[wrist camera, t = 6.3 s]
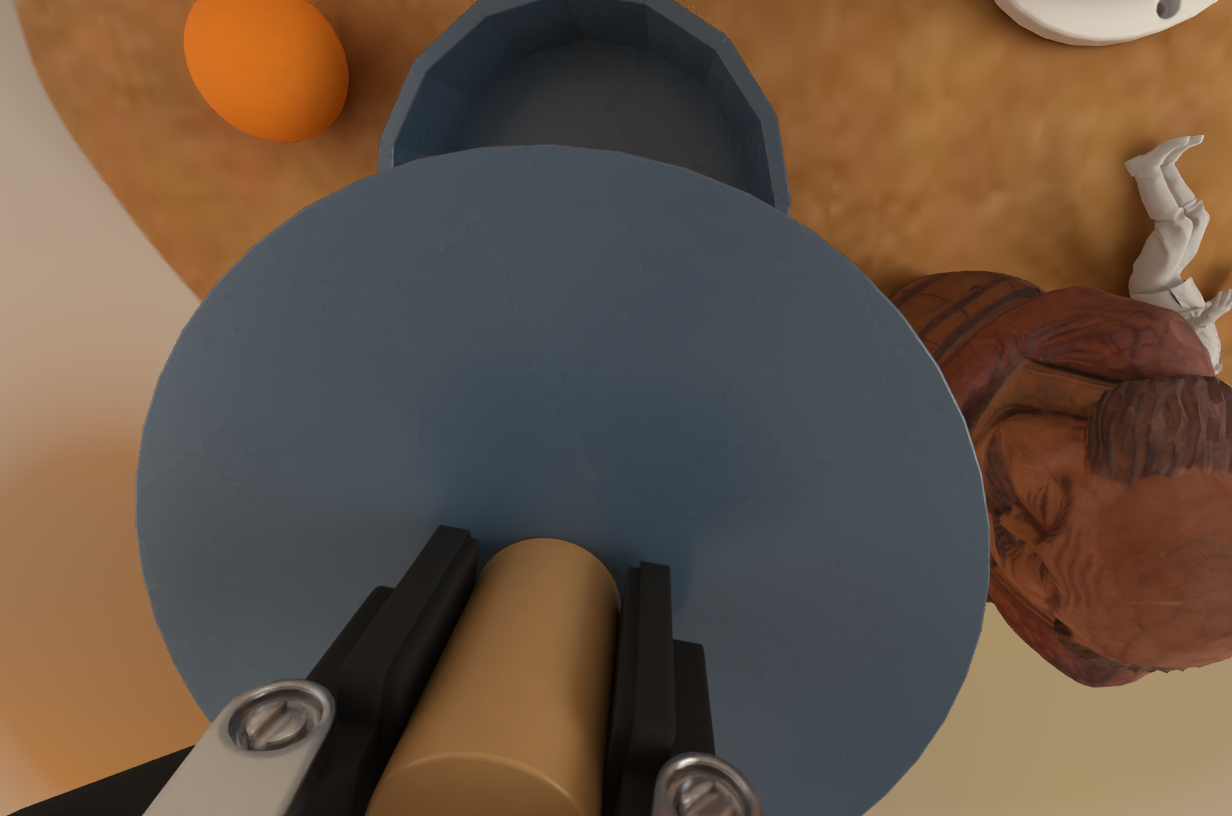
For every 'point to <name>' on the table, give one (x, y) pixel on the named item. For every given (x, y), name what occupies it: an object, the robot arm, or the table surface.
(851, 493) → the pan lid
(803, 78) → the table surface
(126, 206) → the table surface
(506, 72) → the dark blue round container
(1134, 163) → the soldier figure
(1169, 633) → the wooden figurine
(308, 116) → the orange ball
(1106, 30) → the robot arm
